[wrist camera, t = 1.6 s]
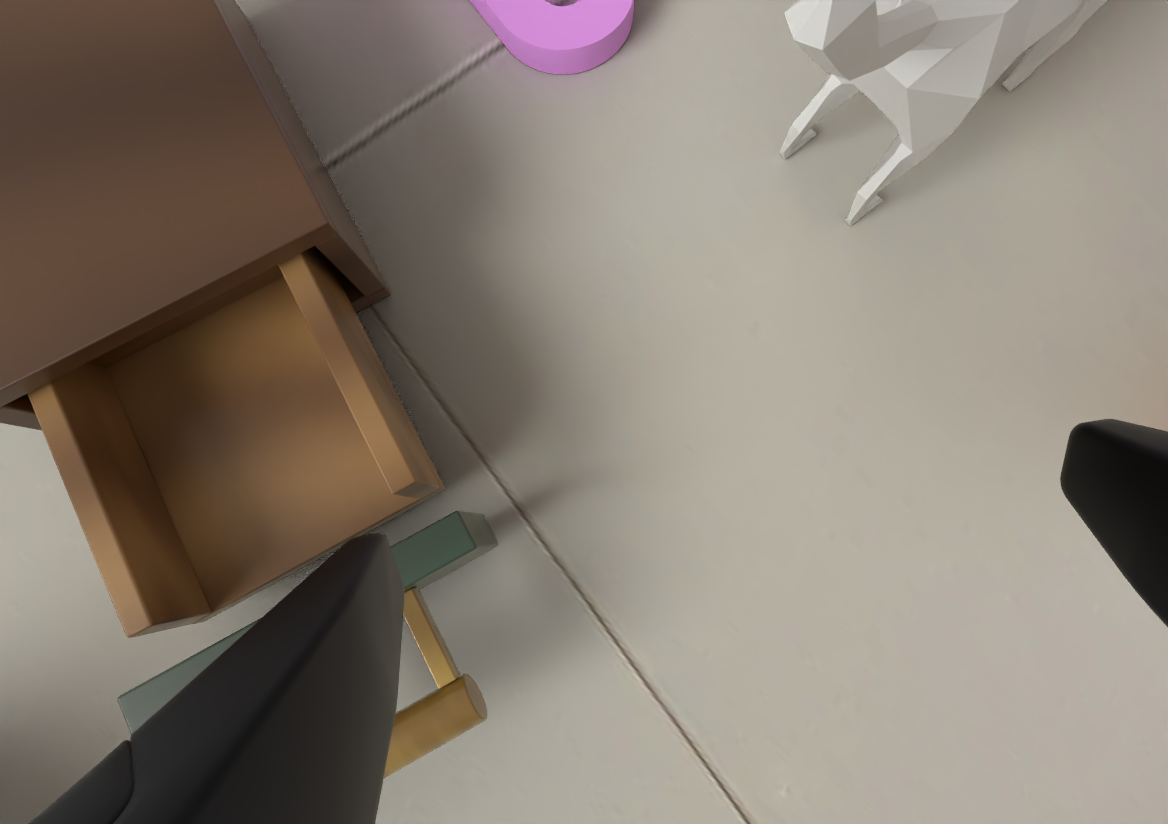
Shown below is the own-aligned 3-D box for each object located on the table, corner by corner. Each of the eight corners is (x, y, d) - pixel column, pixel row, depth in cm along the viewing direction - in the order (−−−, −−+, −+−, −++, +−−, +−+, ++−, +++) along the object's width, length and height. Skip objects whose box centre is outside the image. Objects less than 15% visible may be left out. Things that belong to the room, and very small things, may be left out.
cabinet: (391, 294, 26) (328, 222, 20) (108, 443, 25) (-49, 415, 19) (246, 17, 28) (149, -124, 22) (-19, 146, 27) (-194, 36, 21)
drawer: (560, 661, 22) (551, 692, 18) (273, 825, 22) (194, 897, 18) (342, 241, 25) (290, 183, 21) (82, 376, 24) (-27, 343, 20)
